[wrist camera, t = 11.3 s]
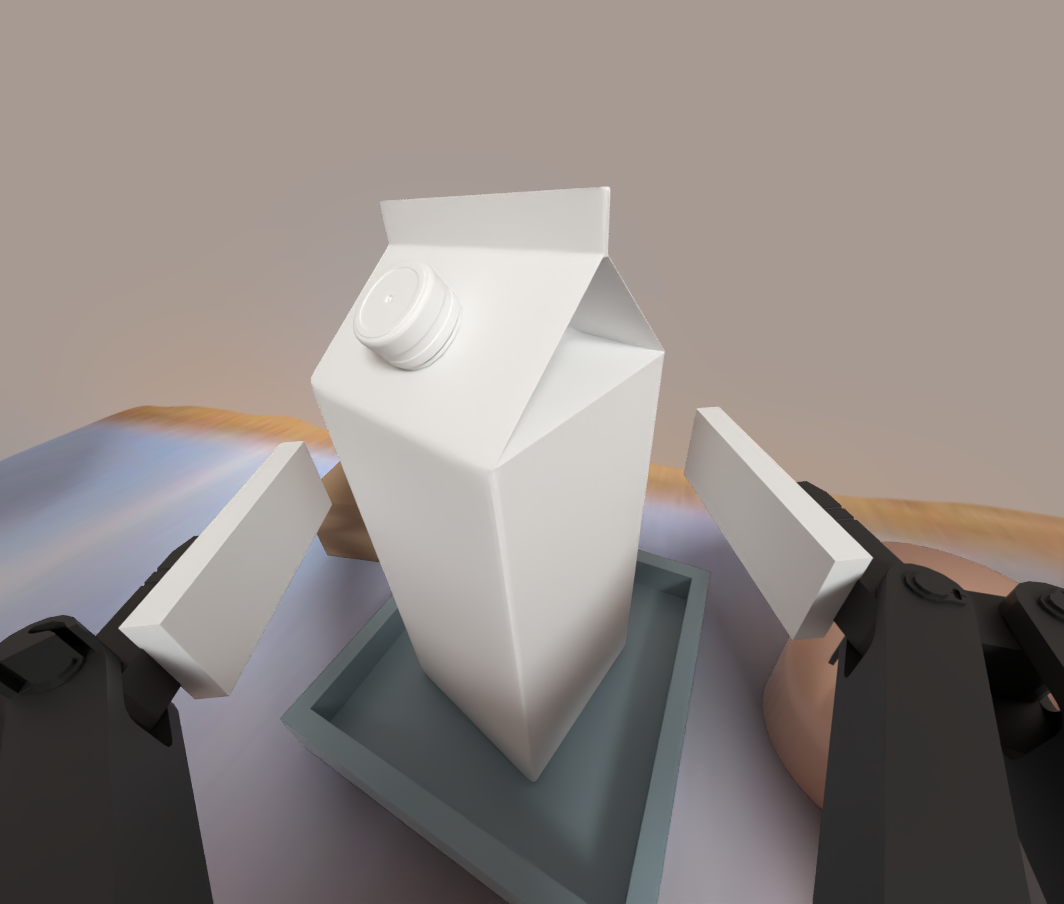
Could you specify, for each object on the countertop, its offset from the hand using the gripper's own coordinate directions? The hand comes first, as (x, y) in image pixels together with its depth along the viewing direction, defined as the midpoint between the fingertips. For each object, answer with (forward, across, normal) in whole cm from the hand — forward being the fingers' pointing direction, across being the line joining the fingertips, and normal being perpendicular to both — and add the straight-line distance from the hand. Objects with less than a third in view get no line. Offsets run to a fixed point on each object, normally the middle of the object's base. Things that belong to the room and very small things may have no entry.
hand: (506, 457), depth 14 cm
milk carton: (-1, 0, -12) cm, 12 cm away
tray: (-1, 0, -12) cm, 12 cm away
